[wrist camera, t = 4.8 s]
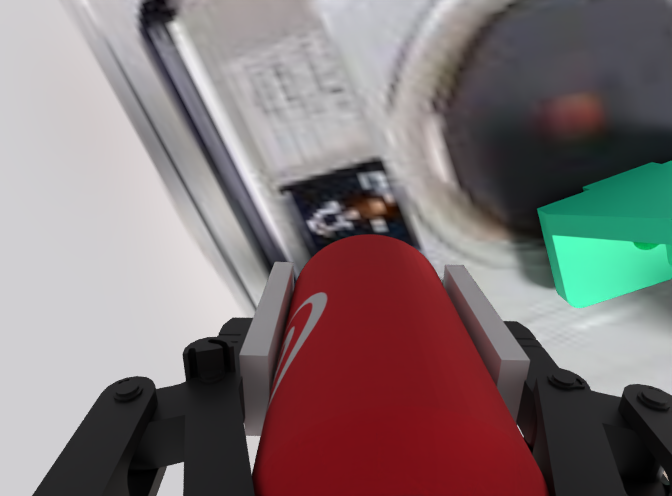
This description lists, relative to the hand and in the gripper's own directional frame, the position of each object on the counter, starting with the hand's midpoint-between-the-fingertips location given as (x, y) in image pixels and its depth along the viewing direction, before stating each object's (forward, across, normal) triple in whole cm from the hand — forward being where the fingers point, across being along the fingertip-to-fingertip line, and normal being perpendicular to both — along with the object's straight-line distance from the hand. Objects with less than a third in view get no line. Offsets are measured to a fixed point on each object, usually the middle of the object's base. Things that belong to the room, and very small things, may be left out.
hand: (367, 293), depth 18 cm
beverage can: (+1, 0, 0) cm, 1 cm away
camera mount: (+14, +19, -1) cm, 24 cm away
